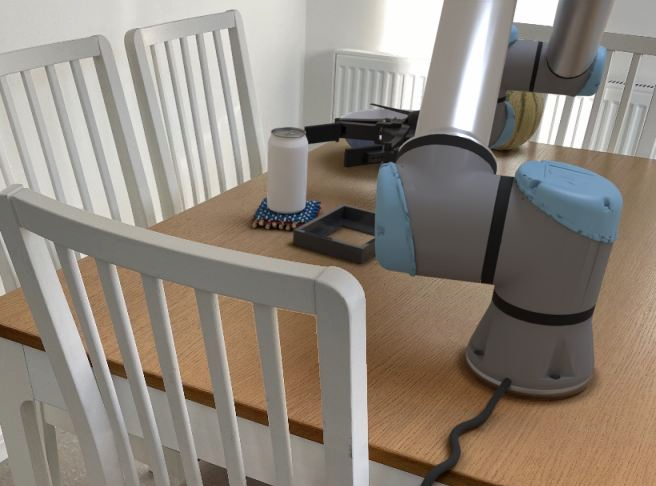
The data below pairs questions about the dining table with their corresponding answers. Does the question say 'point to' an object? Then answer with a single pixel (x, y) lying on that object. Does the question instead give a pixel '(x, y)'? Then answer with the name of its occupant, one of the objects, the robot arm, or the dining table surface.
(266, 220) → the woven mat
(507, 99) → the cantaloupe
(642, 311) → the dining table surface
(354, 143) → the ramen bowl
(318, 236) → the tray
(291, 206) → the can
